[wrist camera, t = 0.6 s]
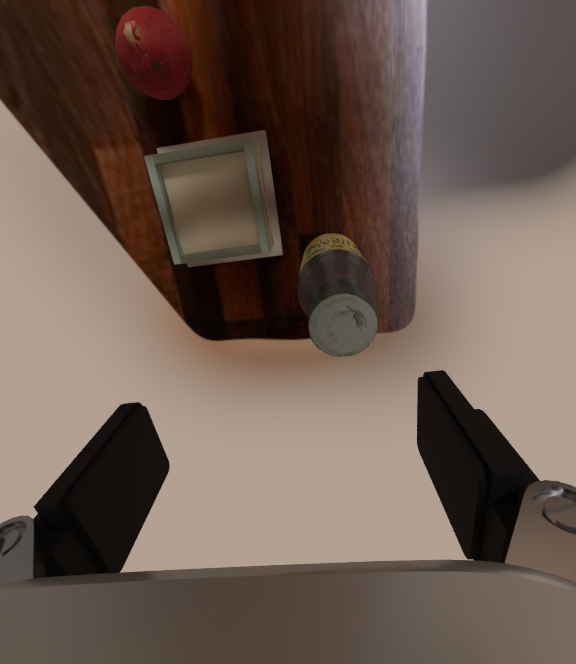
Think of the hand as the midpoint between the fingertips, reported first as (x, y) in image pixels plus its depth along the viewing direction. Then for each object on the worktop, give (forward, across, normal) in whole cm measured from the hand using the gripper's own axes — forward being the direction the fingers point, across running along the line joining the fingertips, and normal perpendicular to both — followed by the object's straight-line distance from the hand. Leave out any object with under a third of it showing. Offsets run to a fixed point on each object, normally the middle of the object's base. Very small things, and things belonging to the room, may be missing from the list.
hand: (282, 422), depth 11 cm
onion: (+28, +9, -19) cm, 35 cm away
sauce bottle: (+28, -3, +1) cm, 28 cm away
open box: (+28, +7, -7) cm, 30 cm away
